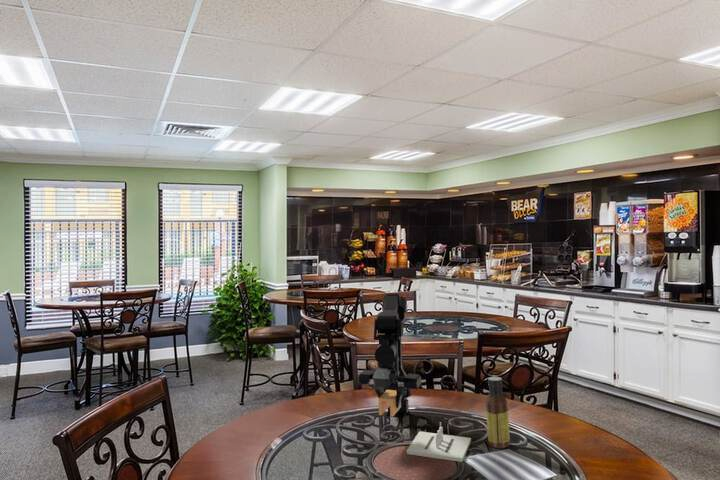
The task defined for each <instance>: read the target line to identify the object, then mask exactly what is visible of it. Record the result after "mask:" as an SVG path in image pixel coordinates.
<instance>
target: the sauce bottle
mask: <svg viewBox="0 0 720 480" xmlns="http://www.w3.org/2000/svg"><path fill="white" fill-rule="evenodd" d="M487 384H488V389H489V390H488V395H487V397H486V399H485V408H486V409H485V410H486V411H485V413H486V424H487V425H486V427H487V439H488V444H489V446H491V447H492V448H495V449H496V448H497V449H506V448H508V447H509V446H510V444H511V441H510V440H511V436H510V422H509V410H508V402H507V399H506V397H505V395H504V393H503V378H502V377H499V376H490V377H487Z"/></svg>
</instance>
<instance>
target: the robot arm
mask: <svg viewBox="0 0 720 480" xmlns="http://www.w3.org/2000/svg"><path fill="white" fill-rule="evenodd" d="M381 301H382V302H381V303H382V304H381V310H382V311H380V312H378V313H377V315H376V318H374V326H373V329H374V331H373V341H378V345H377V348H376V349H375V352H374V359H375V361H376V362H377V367H376V369H375V370H371V369H370V370H369V369H364V370H363V371H362V372H361V373H359V374H358V375H357V384H360V385H368V387H369V388H372V389H373V390H374V391H375V393H376V396H377V398H378V399H379V397H380V396H381V395H382V394H383V393H384V392H385V391H386V390H396V392H397V394H396V408H398V407H399V405H400V402H401V408H400V409H399V410H398V411H397V413H396V414H395V415H394V416H393V417H402V418H404V417H405V416H406V414H407V413H408V412H409V411H410V410H409V408H410V407H409V398H410V397H411V396H412V391H411V390H412V389H413V390H416V389H418V388H419V387H420V386H421V385H422V377H421V375H420V374H418V373H417V374H416V373H406V371H405V370H404V368H403V363H402V358H403V355H402V352H403V351H402V350H403V349H402V337H403V336H402V335H403V334H402V333H403V323H404V320H405V319H406V314H407V313H408V302H407V298H405V297H402V296H401V294H400V293H395V292H391V293H390V292H389V293H385V295H384V298H382V300H381ZM385 415H386V416H390V407H389V408H388V409H387V412H386V413H385Z"/></svg>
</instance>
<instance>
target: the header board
mask: <svg viewBox="0 0 720 480" xmlns="http://www.w3.org/2000/svg"><path fill="white" fill-rule="evenodd" d="M471 443H472V438H471V437H468V436H460V435H459V436H457V435H452V434H451V435H450V434H444V428H443V426H439V429H438V430H437V433H434V432H427V431H419V432H417V434H416V436H415V437H414V439H413V440H412V442H411V443H410V445H409V446H408V448H407V449H406V454H407V455H411V456H417V457H419V456H420V457H424V458H426V457H427V458H431V459H437V460H438V459H440V460H445V461H453V462H459V463H463V461H464V459H465V457H466V454H467V452H468V450H469V447H470V445H471Z"/></svg>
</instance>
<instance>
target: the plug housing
mask: <svg viewBox="0 0 720 480" xmlns="http://www.w3.org/2000/svg"><path fill="white" fill-rule="evenodd" d="M396 394H397V392H396V390H386V391H385V392H384V393H383V394H382V395H381V396H380V397H379V398H378V414H379V415H378V416H382V415H383V414H385V412H386V411H388V408H389V407H390V415H389V417H395V416H394V415H395V414H396V413H397V411H398V410H399V409H400V408H401V402H400V405H399V407H398V408H396Z"/></svg>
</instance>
